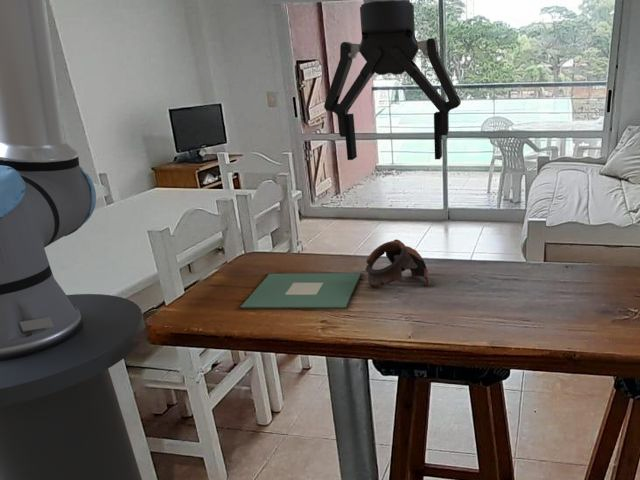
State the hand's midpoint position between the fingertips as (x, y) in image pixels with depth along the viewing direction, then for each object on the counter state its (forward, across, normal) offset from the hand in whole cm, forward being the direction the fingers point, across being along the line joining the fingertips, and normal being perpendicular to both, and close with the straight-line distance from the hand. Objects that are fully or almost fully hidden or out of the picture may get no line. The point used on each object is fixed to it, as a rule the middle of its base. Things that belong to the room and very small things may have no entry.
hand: (394, 158), depth 88 cm
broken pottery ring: (+20, 0, +3) cm, 20 cm away
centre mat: (+19, +14, +8) cm, 25 cm away
